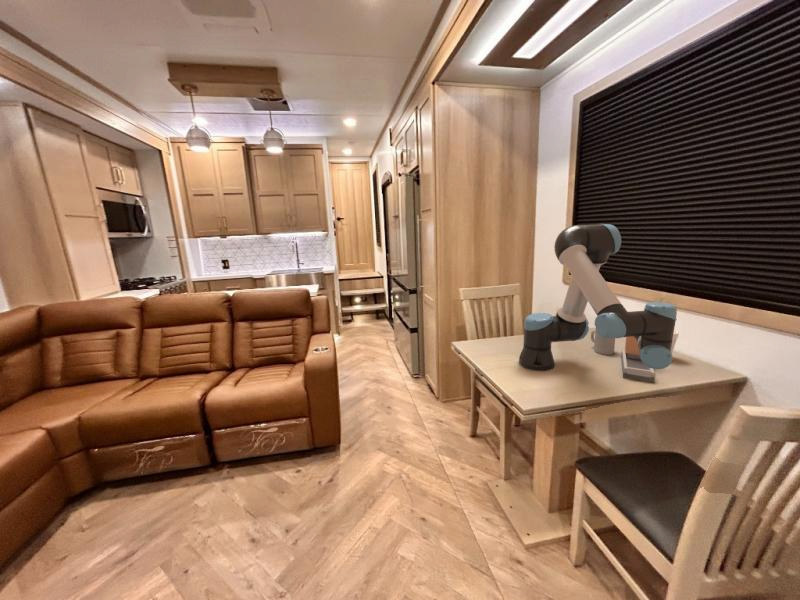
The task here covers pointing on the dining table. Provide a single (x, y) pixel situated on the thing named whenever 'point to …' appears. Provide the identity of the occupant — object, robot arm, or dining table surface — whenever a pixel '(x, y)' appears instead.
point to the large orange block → (632, 348)
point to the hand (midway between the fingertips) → (644, 322)
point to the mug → (603, 344)
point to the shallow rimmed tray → (636, 369)
